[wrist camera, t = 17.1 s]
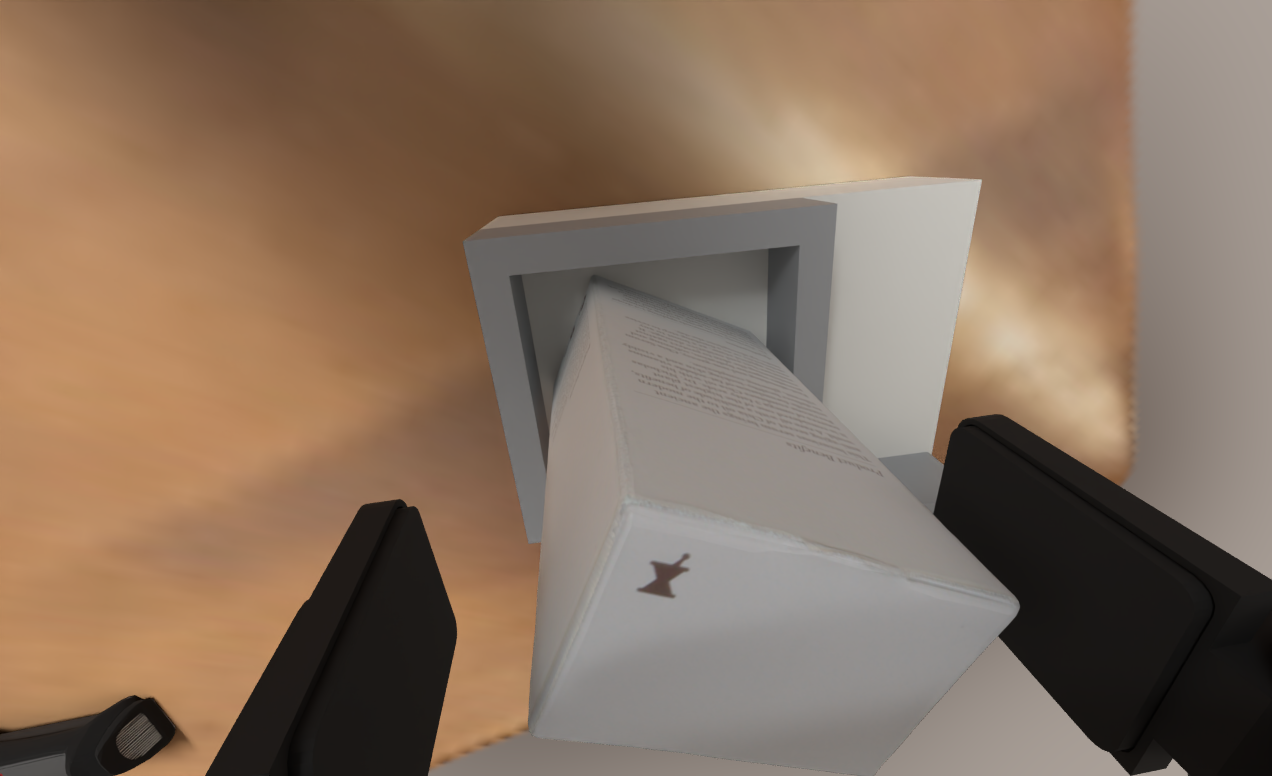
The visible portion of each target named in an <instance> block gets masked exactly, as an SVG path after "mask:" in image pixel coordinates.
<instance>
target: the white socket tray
mask: <svg viewBox="0 0 1272 776" xmlns="http://www.w3.org/2000/svg"><path fill="white" fill-rule="evenodd" d="M981 182H982V180H980V179H958V178H936V177H915V176H906V177H896V178H885V179H875V180H865V181H855V182H844V183H834V184H824V185H814V186H804V187H793V188H783V189H773V190H763V191H753V192H742V193H732V194H722V195H712V196H702V197H691V198H681V199H671V200H661V201H651V202H640V203H630V204H620V205H610V206H600V207H589V208H579V209H569V210H559V211H549V212H538V213H528V214H518V215H508V216H498V217H497V218H495V219H494V220H492V221H491V222H490V223H488V224H487V225H485V226H484V227H482V228H481V229H480V230H478V231H477V232H475V233H474V234H472V235H471V236H469V237H468V238H467V239H465V240H464V241H463V245H464V250H465V255H466V259H467V264H468V268H469V273H470V277H471V282H472V287H473V291H474V296H475V300H476V305H477V309H478V314H479V319H480V323H481V328H482V332H483V337H484V341H485V346H486V351H487V355H488V360H489V364H490V369H491V373H492V378H493V383H494V387H495V392H496V396H497V401H498V405H499V410H500V415H501V419H502V424H503V428H504V433H505V437H506V442H507V447H508V451H509V456H510V460H511V465H512V469H513V474H514V479H515V483H516V488H517V492H518V497H519V501H520V506H521V511H522V515H523V520H524V524H525V529H526V533H527V538H528V543H529V544H531V543H539V542H541V539H542V530H543V515H544V504H545V488H546V476H547V463H548V449H549V436H550V423H551V412H552V401H553V387H554V382H555V379H556V376H557V374H558V371H559V368H560V365H561V362H562V359H563V356H564V353H565V350H566V347H567V344H568V341H569V338H570V335H571V332H572V329H573V326H574V323H575V321H576V318H577V315H578V313H579V310H580V307H581V305H582V302H583V299H584V297H585V294H586V291H587V288H588V285H589V282H590V279H591V277H592V275H597V276H600V277H603V278H605V279H608V280H611V281H614V282H616V283H619V284H622V285H625V286H628V287H630V288H633V289H636V290H638V291H641V292H644V293H647V294H650V295H653V296H655V297H658V298H661V299H663V300H666V301H669V302H672V303H675V304H677V305H680V306H683V307H685V308H688V309H691V310H693V311H696V312H699V313H702V314H705V315H707V316H710V317H713V318H716V319H718V320H721V321H724V322H727V323H729V324H732V325H735V326H737V327H740V328H743V329H746V330H748V331H750V332H751V333H753V334H754V335H755V336H756V337H757V338H758V339H759V340H760V341H761V342H762V343H763V344H764V345H765V346H766V347H767V348H768V349H769V350H770V351H771V352H772V353H773V355H774V356H775V357H777V358H778V359H779V360H780V361H781V363H782V364H783V365H784V366H785V367H786V368H787V369H788V370H789V371H790V372H791V373H792V374H793V375H795V376H796V377H797V378H798V379H799V380H800V381H801V383H802V384H803V385H804V386H805V387H806V388H807V389H808V390H809V391H810V392H811V393H812V394H814V395H815V396H816V397H817V398H818V399H819V400H820V401H821V402H822V403H823V404H824V405H825V406H826V407H827V408H828V409H829V410H830V411H831V412H832V413H833V414H834V415H835V416H836V417H837V418H838V419H839V421H840V422H842V423H843V424H844V425H845V426H846V427H847V428H848V429H849V430H850V431H851V432H852V433H853V435H854V436H855V437H856V438H857V439H858V440H859V441H860V442H861V443H862V444H863V445H864V446H865V447H866V448H867V449H869V450H870V451H871V452H872V453H873V454H874V455H875V456H876V457H877V458H878V459H879V460H880V461H881V462H882V463H883V464H884V465H885V466H886V467H887V469H888V470H889V471H890V472H891V473H892V474H893V475H894V476H895V477H896V478H897V479H899V480H900V481H901V482H902V483H903V484H904V485H905V486H906V488H907V489H908V490H909V491H910V492H911V493H912V494H913V495H914V496H915V497H916V498H917V499H918V500H919V501H920V502H921V503H922V504H923V505H924V506H926V507H927V508H928V509H929V511H930V512H931V513H932V514H933V513H934V508H935V504H936V499H937V495H938V490H939V486H940V481H941V477H942V472H943V468H944V465H943V464H942V463H941V462H939V461H938V460H937V459H936V458H935V457H933V456H932V450H933V444H934V439H935V433H936V428H937V422H938V417H939V412H940V406H941V401H942V395H943V390H944V384H945V379H946V373H947V368H948V362H949V357H950V351H951V346H952V340H953V335H954V329H955V324H956V319H957V313H958V308H959V302H960V297H961V291H962V286H963V280H964V275H965V269H966V264H967V258H968V253H969V247H970V242H971V237H972V231H973V226H974V220H975V215H976V209H977V204H978V198H979V193H980V187H981Z"/></svg>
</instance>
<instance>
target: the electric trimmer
mask: <svg viewBox="0 0 1272 776" xmlns="http://www.w3.org/2000/svg"><path fill="white" fill-rule="evenodd" d="M174 726H175V725H174V724H173V723H172V722H171V721H170V720H169V718H168V717H167V716H166V714H165V713H163V711H162V710H161V708H160V707H159V706H158V705H157V704H156V702H155V701H154V699H144V700H141V699H140V698H139V697H137V696H135V695H134V696H130V697H127V698H125V699H123V700H121V701H119V702H117V703H116V704H114V705H113V706H111V707H110V708H108V709H106V710H105V711H103V712H102V713H100V714H98V715H93V716H88V717H83V718H78V719H73V720H68V721H63V722H58V723H54V724H49V725H44V726H39V727H34V728H29V729H24V730H19V731H14V732H9V733H4V734H0V776H115V775H118V774H122V773H124V772H126V771H129V770H131V769H133V768H135V767H136V766H138V765H140V764H141V763H143V762H145V761H147V760H148V759H150V758H151V757H153V756H154V755H155V754H156V753H158V752H159V751H160V750H161V749H162V748H164V747H165V746H166V745H167V744H168V743H169V742H170V741H171V739H172V738H173V736H174V734H175V727H174Z"/></svg>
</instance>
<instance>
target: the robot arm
mask: <svg viewBox="0 0 1272 776" xmlns="http://www.w3.org/2000/svg"><path fill="white" fill-rule="evenodd" d="M933 515H934V516H935V517H936V518H937V519H938V520H939V521H940V522H941V523H942V524H943V525H944V526H945V528H946V529H947V530H949V531H950V532H951V533H952V534H953V535H954V536H955V537H956V538H957V539H958V540H959V541H960V542H961V543H962V544H963V545H964V546H965V547H966V548H967V549H968V550H969V551H970V552H971V553H972V554H973V555H974V556H975V557H976V558H977V559H978V560H979V561H980V562H981V563H982V564H983V565H984V566H985V567H986V568H987V569H988V570H989V571H990V572H991V573H992V574H993V575H994V576H995V577H996V578H997V579H998V580H999V581H1000V582H1001V583H1002V584H1003V585H1004V586H1005V587H1006V588H1007V589H1008V590H1009V591H1010V592H1011V593H1012V594H1013V595H1014V596H1015V597H1016V598H1017V600H1018V601H1019V604H1020V609H1019V611H1018V613H1017V615H1016V617H1015V618H1014V619H1013V620H1012V621H1011V622H1010V623H1009V625H1008V626H1007V627H1006V628H1005V629H1004V630H1003V631H1002V632H1001V633H1000V634H999V635H998V636H999V638H1000V639H1001V640H1002V641H1003V642H1004V643H1005V644H1006V645H1007V647H1008V648H1009V649H1010V650H1011V651H1012V652H1013V653H1014V655H1015V656H1016V657H1017V658H1018V659H1019V660H1020V661H1021V662H1022V663H1023V665H1024V666H1025V667H1026V668H1027V669H1028V670H1029V671H1030V673H1031V674H1032V675H1033V676H1034V677H1035V678H1036V679H1037V680H1038V682H1039V683H1040V684H1041V685H1042V686H1043V687H1044V688H1045V689H1046V691H1047V692H1048V693H1049V694H1050V695H1051V696H1052V697H1053V699H1054V700H1055V701H1056V702H1057V703H1058V704H1059V705H1060V706H1061V708H1062V709H1063V710H1064V711H1065V712H1066V713H1067V714H1068V716H1069V717H1070V718H1071V719H1072V720H1073V721H1074V722H1075V723H1076V725H1077V726H1078V727H1079V728H1080V729H1081V730H1082V731H1083V732H1084V733H1085V735H1086V736H1087V737H1088V738H1089V739H1090V740H1091V741H1092V742H1093V743H1094V744H1095V745H1097V746H1098V747H1099V748H1101V749H1102V750H1105V751H1107V752H1110V753H1111V754H1112V756H1113V757H1114V758H1115V759H1116V760H1117V761H1118V762H1119V763H1120V765H1121V766H1122V767H1123V768H1124V769H1125V770H1126V771H1127V772H1128V773H1129V774H1130V776H1132V775H1137V774H1141V773H1146V772H1151V771H1156V770H1160V769H1165V768H1167V766H1168V764H1169V763H1170V762H1171V760H1172V759H1174V760H1175V761H1176V762H1178V764H1179V765H1180V766H1181V767H1182V768H1183V769H1184V770H1185V771H1186V772H1187V773H1188V776H1272V580H1271V579H1269V578H1268V577H1266V576H1265V575H1263V574H1261V573H1260V572H1258V571H1257V570H1255V569H1253V568H1252V567H1250V566H1248V565H1247V564H1245V563H1244V562H1242V561H1240V560H1239V559H1237V558H1235V557H1234V556H1232V555H1231V554H1229V553H1227V552H1226V551H1224V550H1222V549H1221V548H1219V547H1217V546H1216V545H1214V544H1212V543H1211V542H1209V541H1208V540H1206V539H1204V538H1203V537H1201V536H1200V535H1198V534H1196V533H1195V532H1193V531H1191V530H1190V529H1188V528H1186V527H1185V526H1183V525H1182V524H1180V523H1178V522H1177V521H1175V520H1174V519H1172V518H1170V517H1169V516H1167V515H1165V514H1164V513H1162V512H1161V511H1159V510H1157V509H1156V508H1154V507H1152V506H1151V505H1149V504H1147V503H1146V502H1144V501H1143V500H1141V499H1139V498H1138V497H1136V496H1135V495H1133V494H1131V493H1130V492H1128V491H1126V490H1125V489H1123V488H1121V487H1120V486H1118V485H1117V484H1115V483H1113V482H1112V481H1110V480H1108V479H1107V478H1105V477H1104V476H1102V475H1100V474H1099V473H1097V472H1095V471H1094V470H1092V469H1091V468H1089V467H1087V466H1086V465H1084V464H1082V463H1081V462H1079V461H1078V460H1076V459H1074V458H1073V457H1071V456H1069V455H1068V454H1066V453H1065V452H1063V451H1061V450H1060V449H1058V448H1056V447H1055V446H1053V445H1052V444H1050V443H1048V442H1047V441H1045V440H1043V439H1042V438H1040V437H1038V436H1037V435H1035V434H1034V433H1032V432H1030V431H1029V430H1027V429H1025V428H1024V427H1022V426H1021V425H1019V424H1017V423H1016V422H1014V421H1012V420H1011V419H1009V418H1008V417H1005V416H1003V415H998V414H994V415H987V416H980V417H973V418H967V419H965V420H962V422H961V423H960V424H959V425H958V428H957V429H955V430H954V431H953V432H952V434H951V437H950V441H949V446H948V450H947V455H946V459H945V463H944V468H943V472H942V477H941V481H940V486H939V490H938V495H937V499H936V504H935V508H934V513H933ZM456 639H457V625H456V620H455V616H454V613H453V610H452V607H451V604H450V602H449V599H448V596H447V593H446V590H445V587H444V584H443V581H442V578H441V575H440V572H439V569H438V566H437V563H436V560H435V557H434V554H433V551H432V549H431V546H430V543H429V540H428V537H427V534H426V531H425V528H424V525H423V522H422V519H421V516H420V513H419V511H418V509H417V508H416V507H414V506H412V507H407V505H406V503H405V502H404V501H403V500H400V499H398V500H391V501H384V502H377V503H370V504H365V505H363V506H362V507H361V508H360V509H359V510H358V512H357V514H356V516H355V518H354V519H353V521H352V523H351V525H350V527H349V528H348V530H347V532H346V534H345V536H344V537H343V539H342V541H341V543H340V545H339V546H338V548H337V550H336V552H335V554H334V555H333V557H332V559H331V561H330V563H329V564H328V566H327V568H326V570H325V572H324V573H323V575H322V577H321V579H320V581H319V582H318V584H317V586H316V588H315V590H314V591H313V593H312V595H311V597H310V599H309V600H307V601H306V602H305V603H304V604H303V605H302V607H301V608H300V609H299V611H298V612H297V614H296V616H295V618H294V619H293V621H292V623H291V625H290V627H289V628H288V630H287V632H286V634H285V635H284V637H283V639H282V641H281V642H280V644H279V646H278V648H277V649H276V651H275V653H274V655H273V657H272V658H271V660H270V662H269V664H268V665H267V667H266V669H265V671H264V672H263V674H262V676H261V678H260V680H259V681H258V683H257V685H256V687H255V688H254V690H253V692H252V694H251V695H250V697H249V699H248V701H247V703H246V704H245V706H244V708H243V710H242V711H241V713H240V715H239V717H238V718H237V720H236V722H235V724H234V725H233V727H232V729H231V731H230V733H229V734H228V736H227V738H226V740H225V741H224V743H223V745H222V747H221V748H220V750H219V752H218V754H217V756H216V757H215V759H214V761H213V763H212V764H211V766H210V768H209V770H208V771H207V773H206V775H205V776H428V772H429V767H430V762H431V758H432V753H433V748H434V744H435V739H436V734H437V730H438V725H439V720H440V716H441V711H442V706H443V702H444V697H445V692H446V688H447V683H448V678H449V673H450V669H451V664H452V659H453V655H454V650H455V645H456Z"/></svg>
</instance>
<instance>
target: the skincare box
mask: <svg viewBox="0 0 1272 776" xmlns="http://www.w3.org/2000/svg"><path fill="white" fill-rule="evenodd" d="M1019 609H1020V604H1019V601H1018V600H1017V598H1016V597H1015V596H1014V595H1013V594H1012V593H1011V592H1010V591H1009V590H1008V589H1007V588H1006V587H1005V586H1004V585H1003V584H1002V583H1001V582H1000V581H999V580H998V579H997V578H996V577H995V576H994V575H993V574H992V573H991V572H990V571H989V570H988V569H987V568H986V567H985V566H984V565H983V564H982V563H981V562H980V561H979V560H978V559H977V558H976V557H975V556H974V555H973V554H972V553H971V552H970V551H969V550H968V549H967V548H966V547H965V546H964V545H963V544H962V543H961V542H960V541H959V540H958V539H957V538H956V537H955V536H954V535H953V534H952V533H951V532H950V531H949V530H947V529H946V528H945V526H944V525H943V524H942V523H941V522H940V521H939V520H938V519H937V518H936V517H935V516H934V515H933V514H932V513H931V512H930V511H929V509H928V508H927V507H926V506H924V505H923V504H922V503H921V502H920V501H919V500H918V499H917V498H916V497H915V496H914V495H913V494H912V493H911V492H910V491H909V490H908V489H907V488H906V486H905V485H904V484H903V483H902V482H901V481H900V480H899V479H897V478H896V477H895V476H894V475H893V474H892V473H891V472H890V471H889V470H888V469H887V467H886V466H885V465H884V464H883V463H882V462H881V461H880V460H879V459H878V458H877V457H876V456H875V455H874V454H873V453H872V452H871V451H870V450H869V449H867V448H866V447H865V446H864V445H863V444H862V443H861V442H860V441H859V440H858V439H857V438H856V437H855V436H854V435H853V433H852V432H851V431H850V430H849V429H848V428H847V427H846V426H845V425H844V424H843V423H842V422H840V421H839V419H838V418H837V417H836V416H835V415H834V414H833V413H832V412H831V411H830V410H829V409H828V408H827V407H826V406H825V405H824V404H823V403H822V402H821V401H820V400H819V399H818V398H817V397H816V396H815V395H814V394H812V393H811V392H810V391H809V390H808V389H807V388H806V387H805V386H804V385H803V384H802V383H801V381H800V380H799V379H798V378H797V377H796V376H795V375H793V374H792V373H791V372H790V371H789V370H788V369H787V368H786V367H785V366H784V365H783V364H782V363H781V361H780V360H779V359H778V358H777V357H775V356H774V355H773V353H772V352H771V351H770V350H769V349H768V348H767V347H766V346H765V345H764V344H763V343H762V342H761V341H760V340H759V339H758V338H757V337H756V336H755V335H754V334H753V333H751V332H750V331H748V330H746V329H743V328H740V327H737V326H735V325H732V324H729V323H727V322H724V321H721V320H718V319H716V318H713V317H710V316H707V315H705V314H702V313H699V312H696V311H693V310H691V309H688V308H685V307H683V306H680V305H677V304H675V303H672V302H669V301H666V300H663V299H661V298H658V297H655V296H653V295H650V294H647V293H644V292H641V291H638V290H636V289H633V288H630V287H628V286H625V285H622V284H619V283H616V282H614V281H611V280H608V279H605V278H603V277H600V276H597V275H592V277H591V279H590V282H589V285H588V288H587V291H586V294H585V297H584V299H583V302H582V305H581V307H580V310H579V313H578V315H577V318H576V321H575V323H574V326H573V329H572V332H571V335H570V338H569V341H568V344H567V347H566V350H565V353H564V356H563V359H562V362H561V365H560V368H559V371H558V374H557V376H556V379H555V382H554V387H553V401H552V412H551V423H550V436H549V449H548V463H547V476H546V488H545V504H544V515H543V530H542V539H541V552H540V566H539V579H538V590H537V608H536V625H535V637H534V647H533V658H532V669H531V680H530V696H529V716H528V726H529V732H530V733H531V735H532V736H534V737H537V738H543V739H554V740H563V741H574V742H584V743H596V744H606V745H616V746H627V747H636V748H643V749H651V750H660V751H669V752H679V753H686V754H693V755H701V756H707V757H714V758H721V759H728V760H736V761H744V762H752V763H761V764H770V765H777V766H785V767H793V768H802V769H810V770H819V771H826V772H833V773H841V774H851V775H857V776H874V775H875V774H876V773H877V771H878V770H879V769H880V767H881V766H882V765H883V764H884V763H885V762H886V760H888V758H889V757H890V756H891V755H892V754H893V753H894V752H895V751H896V750H897V749H898V747H899V746H900V745H901V744H902V743H903V741H905V739H906V738H907V737H908V736H909V735H910V734H911V732H912V731H913V730H914V729H915V727H916V726H917V725H918V724H919V723H920V722H921V721H922V719H923V718H924V717H925V716H926V715H927V714H928V713H929V712H930V710H931V709H932V708H933V707H934V706H935V705H936V704H937V703H938V702H939V700H940V699H941V698H942V697H943V696H944V695H945V694H946V693H947V692H948V690H949V689H950V688H951V687H952V686H953V685H954V684H955V682H956V681H957V680H958V679H959V678H960V677H961V676H962V675H963V673H964V672H965V671H966V670H967V669H968V668H969V667H970V666H971V665H972V663H973V662H974V661H975V660H976V659H977V658H978V657H979V656H980V655H981V654H982V653H983V651H984V650H985V649H986V648H987V647H988V646H989V645H990V644H991V643H992V642H993V641H994V640H995V638H996V637H997V636H998V635H999V634H1000V633H1001V632H1002V631H1003V630H1004V629H1005V628H1006V627H1007V626H1008V625H1009V623H1010V622H1011V621H1012V620H1013V619H1014V618H1015V617H1016V615H1017V613H1018V611H1019Z"/></svg>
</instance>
